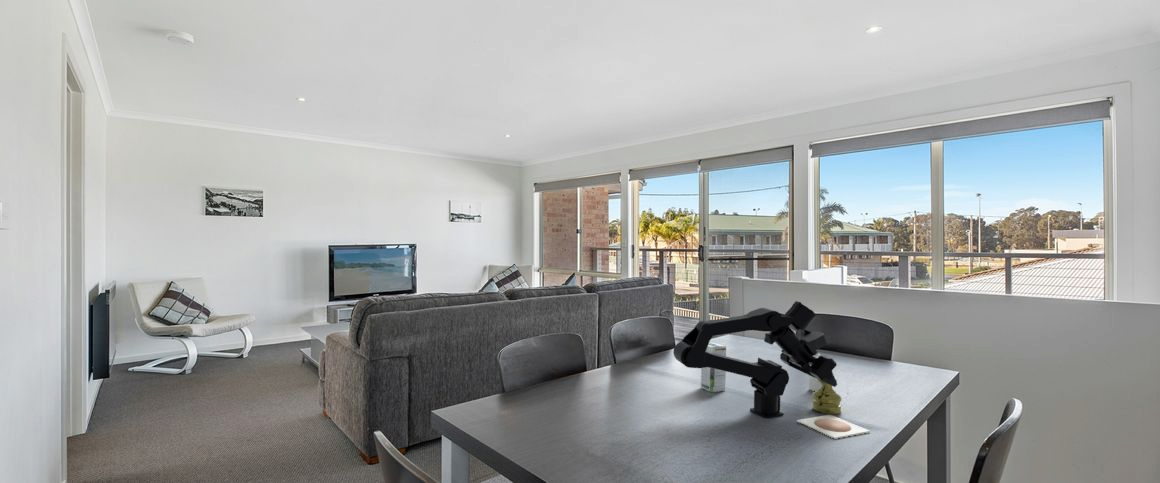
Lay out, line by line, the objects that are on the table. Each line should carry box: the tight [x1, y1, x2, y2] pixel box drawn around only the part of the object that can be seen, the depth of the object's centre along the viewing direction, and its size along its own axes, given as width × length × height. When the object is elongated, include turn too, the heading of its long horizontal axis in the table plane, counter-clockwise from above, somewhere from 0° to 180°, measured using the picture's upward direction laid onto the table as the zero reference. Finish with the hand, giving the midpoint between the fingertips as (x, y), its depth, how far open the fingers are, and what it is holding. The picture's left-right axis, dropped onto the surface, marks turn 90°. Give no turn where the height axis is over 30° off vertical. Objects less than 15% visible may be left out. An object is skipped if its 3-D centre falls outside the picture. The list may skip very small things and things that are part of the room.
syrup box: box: [700, 342, 727, 393], centre depth 160 cm, size 6×6×14 cm
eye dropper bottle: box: [808, 353, 822, 392], centre depth 159 cm, size 4×6×12 cm
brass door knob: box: [811, 378, 842, 415], centre depth 141 cm, size 7×7×10 cm
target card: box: [796, 414, 871, 440], centre depth 129 cm, size 12×12×1 cm
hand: (825, 380), depth 141 cm, fingers open, 9 cm apart
